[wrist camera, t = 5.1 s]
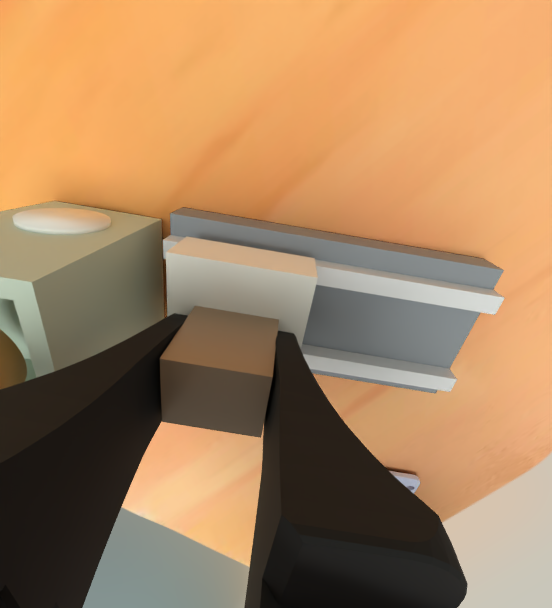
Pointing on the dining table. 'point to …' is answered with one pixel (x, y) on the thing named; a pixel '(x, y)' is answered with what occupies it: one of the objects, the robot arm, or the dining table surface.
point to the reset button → (11, 363)
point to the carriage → (229, 330)
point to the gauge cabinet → (77, 281)
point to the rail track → (369, 299)
